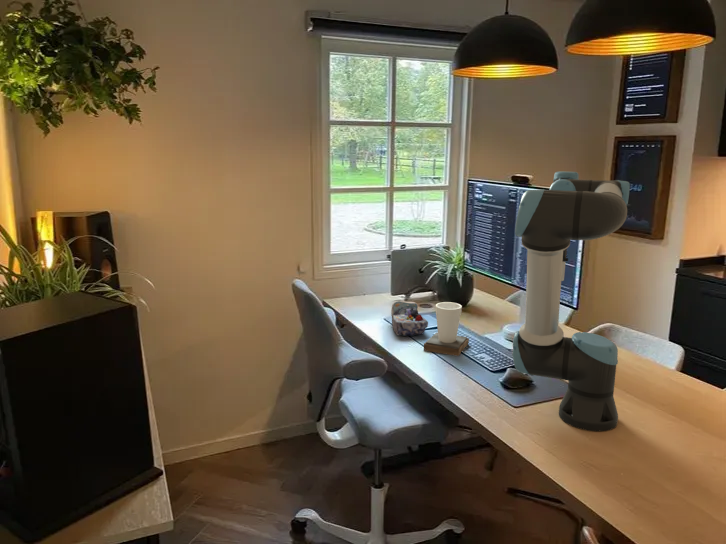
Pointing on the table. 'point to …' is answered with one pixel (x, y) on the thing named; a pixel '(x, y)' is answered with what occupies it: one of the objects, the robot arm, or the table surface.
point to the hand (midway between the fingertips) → (556, 284)
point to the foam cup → (448, 321)
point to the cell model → (407, 319)
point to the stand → (446, 345)
